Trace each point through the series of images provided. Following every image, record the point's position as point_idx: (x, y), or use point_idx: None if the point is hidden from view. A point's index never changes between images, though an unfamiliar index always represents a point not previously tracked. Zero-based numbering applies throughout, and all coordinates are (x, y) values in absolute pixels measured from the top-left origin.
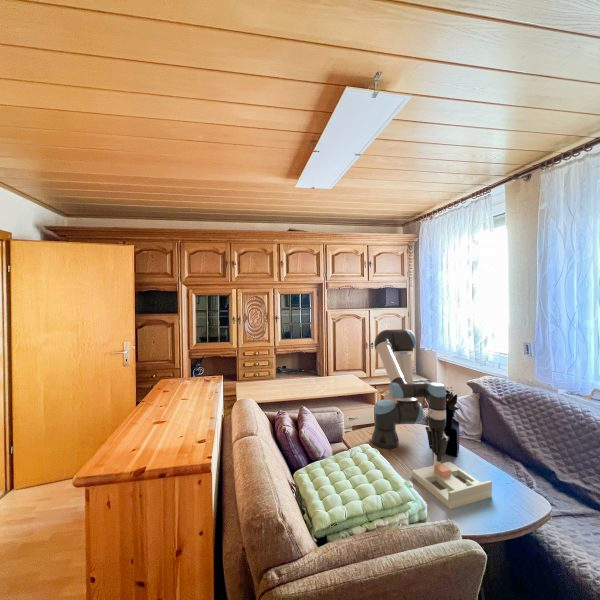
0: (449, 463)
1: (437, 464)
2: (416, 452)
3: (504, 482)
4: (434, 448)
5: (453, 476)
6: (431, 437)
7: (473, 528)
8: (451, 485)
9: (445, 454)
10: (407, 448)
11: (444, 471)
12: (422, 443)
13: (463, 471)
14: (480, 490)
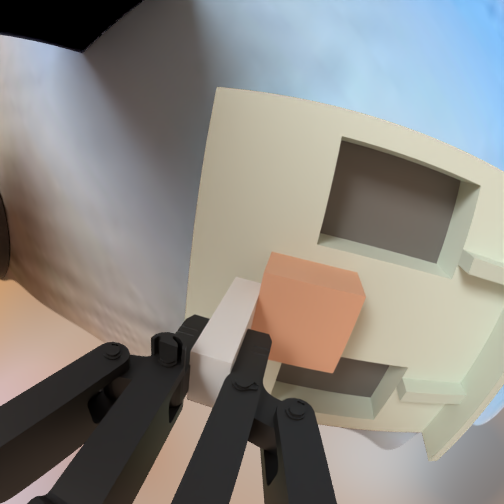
0: (236, 112)
1: (250, 328)
2: (46, 157)
3: (485, 10)
4: (168, 431)
5: (371, 261)
6: (35, 457)
7: (490, 407)
8: (403, 356)
9: (126, 13)
10: (18, 173)
11: (340, 354)
12: (24, 69)
13: (378, 125)
14: None
